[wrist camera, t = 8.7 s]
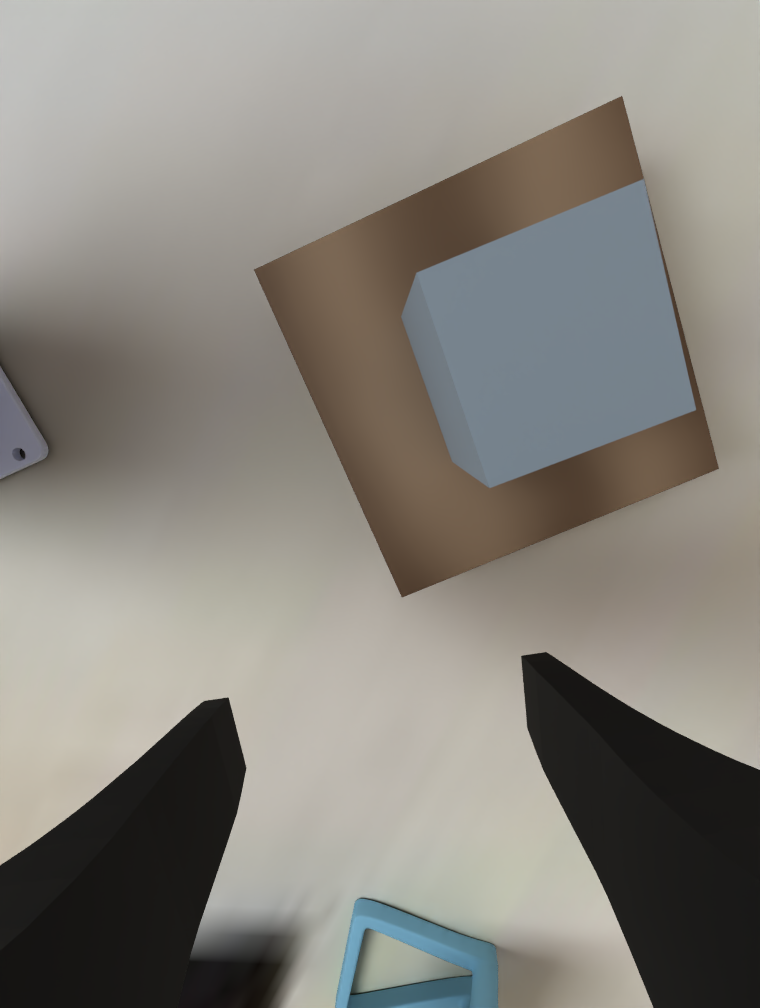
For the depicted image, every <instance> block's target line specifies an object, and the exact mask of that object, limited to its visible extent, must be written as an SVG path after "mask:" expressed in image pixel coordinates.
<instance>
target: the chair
mask: <svg viewBox="0 0 760 1008" xmlns="http://www.w3.org/2000/svg"><path fill="white" fill-rule="evenodd" d="M366 928H369V929H373V930H375V931H378V932H380V933H382V934H385V935H387V936H390V937H392V938H394V939H397V940H399V941H401V942H404V943H406V944H408V945H411V946H413V947H415V948H418V949H420V950H422V951H425V952H427V953H429V954H431V955H434V956H436V957H438V958H441V959H443V960H446V961H448V962H450V963H453V964H455V965H458V966H460V967H463V968H465V969H468V970H470V971H472V974H473V976H464V977H455V978H448V979H442V980H436V981H430V982H424V983H418V984H413V985H407V986H402V987H397V988H391V989H386V990H380V991H375V992H369V993H363V994H357V995H350V992H351V988H352V983H353V979H354V975H355V970H356V966H357V961H358V957H359V953H360V948H361V944H362V940H363V935H364V931H365V930H366ZM335 1008H498V962H497V954H496V948H495V946H494V945H493V944H491V943H487V942H484V941H480V940H477V939H474V938H470V937H467V936H464V935H461V934H459V933H456V932H453V931H451V930H448V929H445V928H443V927H440V926H438V925H435V924H433V923H430V922H428V921H425V920H423V919H420V918H417V917H415V916H412V915H410V914H407V913H405V912H402V911H400V910H397V909H395V908H392V907H389V906H387V905H384V904H381V903H378V902H375V901H372V900H367V899H358V900H357V901H356V902H355V905H354V910H353V915H352V920H351V925H350V930H349V935H348V940H347V945H346V950H345V955H344V960H343V965H342V970H341V975H340V980H339V985H338V990H337V995H336V1005H335Z"/></svg>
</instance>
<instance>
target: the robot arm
mask: <svg viewBox="0 0 760 1008" xmlns="http://www.w3.org/2000/svg"><path fill="white" fill-rule="evenodd" d="M20 449H23V451H24V452H25V454H26V456H25V459H23V458H22V457H21V456H20V453H19V452H20ZM47 455H48V446H47V443H46V442H45V440H44V438H43V437H42V435H41V433H40V432H39V430H38V428H37V427H36V425H35V423H34V422H33V420H32V418H31V417H30V415H29V413H28V412H27V410H26V408H25V407H24V405H23V403H22V402H21V400H20V398H19V397H18V395H17V393H16V392H15V390H14V388H13V387H12V385H11V383H10V382H9V380H8V378H7V377H6V375H5V373H4V372H3V370H2V368H1V367H0V479H2V478H4V477H6V476H8V475H11V474H13V473H15V472H17V471H19V470H21V469H24V468H26V467H28V466H30V465H32V464H35V463H37V462H39V461H41V460H43V459H44V458H46V457H47ZM521 658H522V670H523V682H524V693H525V705H526V717H527V728H528V731H529V734H530V736H531V739H532V742H533V744H534V747H535V750H536V752H537V755H538V758H539V760H540V763H541V765H542V768H543V770H544V772H545V774H546V776H547V778H548V780H549V782H550V784H551V786H552V788H553V790H554V792H555V794H556V796H557V798H558V800H559V802H560V804H561V806H562V807H563V809H564V811H565V813H566V815H567V817H568V819H569V821H570V823H571V825H572V827H573V829H574V831H575V833H576V834H577V836H578V838H579V840H580V842H581V844H582V846H583V848H584V850H585V852H586V854H587V856H588V858H589V859H590V861H591V863H592V865H593V867H594V869H595V871H596V873H597V875H598V877H599V879H600V882H601V884H602V886H603V888H604V890H605V892H606V894H607V896H608V899H609V901H610V903H611V906H612V908H613V910H614V913H615V915H616V918H617V920H618V922H619V925H620V927H621V930H622V932H623V934H624V937H625V939H626V941H627V944H628V946H629V949H630V951H631V953H632V956H633V958H634V961H635V963H636V966H637V968H638V971H639V973H640V975H641V978H642V980H643V983H644V985H645V988H646V990H647V993H648V995H649V998H650V1000H651V1003H652V1005H653V1008H760V770H759V769H756V768H754V767H751V766H749V765H746V764H744V763H741V762H739V761H736V760H734V759H732V758H730V757H727V756H725V755H723V754H721V753H718V752H716V751H714V750H712V749H710V748H708V747H705V746H703V745H701V744H699V743H697V742H695V741H693V740H691V739H689V738H687V737H685V736H683V735H681V734H679V733H677V732H675V731H673V730H671V729H669V728H667V727H665V726H663V725H661V724H660V723H658V722H656V721H654V720H652V719H651V718H649V717H647V716H645V715H644V714H642V713H640V712H638V711H637V710H635V709H633V708H631V707H630V706H628V705H626V704H625V703H623V702H621V701H620V700H618V699H617V698H615V697H613V696H612V695H610V694H609V693H607V692H605V691H604V690H602V689H601V688H599V687H598V686H596V685H595V684H593V683H592V682H590V681H589V680H587V679H586V678H584V677H583V676H581V675H580V674H578V673H577V672H575V671H574V670H572V669H571V668H569V667H568V666H566V665H565V664H563V663H562V662H561V661H559V660H558V659H556V658H555V657H553V656H552V655H550V654H548V653H547V652H544V653H537V654H530V655H523V656H521ZM245 772H246V765H245V761H244V757H243V753H242V749H241V745H240V741H239V737H238V733H237V729H236V725H235V721H234V717H233V713H232V709H231V706H230V702H229V698H222V699H215V700H208V701H204V702H202V703H201V704H200V705H199V706H197V707H196V708H195V709H194V710H193V711H191V712H190V713H189V714H188V715H187V716H186V717H185V718H183V719H182V720H181V721H180V722H179V723H178V724H177V725H176V726H175V727H174V728H172V729H171V730H170V731H169V732H168V733H167V734H166V735H165V736H164V737H163V738H161V739H160V740H159V741H158V742H157V743H156V744H155V745H154V746H153V747H152V748H150V749H149V750H148V751H147V752H146V753H145V754H144V755H143V756H142V757H140V758H139V759H138V760H137V761H136V762H135V763H134V764H133V765H131V766H130V767H129V768H128V769H127V770H126V771H124V772H123V773H122V774H121V775H120V776H118V777H117V778H116V779H115V780H114V781H112V782H111V783H110V784H109V785H108V786H107V787H105V788H104V789H103V790H102V791H101V792H99V793H98V794H97V795H96V796H95V797H94V798H92V799H91V800H90V801H89V802H87V803H86V804H85V805H84V806H82V807H81V808H80V809H79V810H77V811H76V812H75V813H73V814H72V815H71V816H70V817H68V818H67V819H66V820H64V821H63V822H62V823H60V824H59V825H57V826H56V827H55V828H53V829H52V830H51V831H49V832H48V833H47V834H45V835H44V836H43V837H41V838H40V839H38V840H37V841H36V842H34V843H33V844H31V845H30V846H29V847H27V848H26V849H24V850H23V851H21V852H20V853H18V854H17V855H15V856H14V857H12V858H11V859H9V860H8V861H6V862H5V863H3V864H2V865H0V1008H177V1006H178V1002H179V998H180V994H181V990H182V986H183V982H184V978H185V974H186V970H187V966H188V962H189V958H190V955H191V951H192V948H193V944H194V941H195V938H196V934H197V931H198V928H199V925H200V922H201V919H202V916H203V913H204V910H205V907H206V904H207V901H208V898H209V895H210V892H211V889H212V886H213V883H214V880H215V877H216V874H217V871H218V869H219V866H220V863H221V860H222V857H223V854H224V851H225V848H226V845H227V842H228V839H229V836H230V833H231V830H232V827H233V824H234V820H235V817H236V814H237V810H238V806H239V801H240V797H241V792H242V787H243V782H244V777H245Z"/></svg>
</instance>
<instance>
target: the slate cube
mask: <svg viewBox="0 0 760 1008" xmlns="http://www.w3.org/2000/svg"><path fill="white" fill-rule="evenodd" d="M401 318H402V321H403V324H404V327H405V329H406V332H407V335H408V338H409V341H410V344H411V346H412V349H413V352H414V355H415V358H416V361H417V364H418V366H419V369H420V372H421V375H422V378H423V381H424V383H425V386H426V389H427V392H428V395H429V398H430V400H431V403H432V406H433V409H434V412H435V415H436V417H437V420H438V423H439V426H440V429H441V432H442V434H443V437H444V440H445V443H446V446H447V449H448V451H449V454H450V457H451V460H452V462H453V463H455V464H456V465H457V466H459V467H460V468H462V469H463V470H465V471H466V472H467V473H469V474H470V475H472V476H473V477H474V478H476V479H477V480H479V481H480V482H481V483H483V484H484V485H486V486H487V487H489V488H491V487H494V486H497V485H499V484H502V483H505V482H507V481H510V480H513V479H515V478H518V477H520V476H523V475H526V474H528V473H531V472H534V471H536V470H539V469H542V468H544V467H547V466H550V465H552V464H555V463H557V462H560V461H563V460H565V459H568V458H571V457H573V456H576V455H579V454H581V453H584V452H586V451H589V450H592V449H594V448H597V447H600V446H602V445H605V444H608V443H610V442H613V441H616V440H618V439H621V438H623V437H626V436H629V435H631V434H634V433H637V432H639V431H642V430H645V429H647V428H650V427H652V426H655V425H658V424H660V423H663V422H666V421H668V420H671V419H674V418H676V417H679V416H682V415H684V414H687V413H689V412H692V411H695V410H696V407H695V403H694V398H693V394H692V389H691V385H690V380H689V376H688V372H687V367H686V363H685V358H684V354H683V350H682V345H681V341H680V336H679V332H678V327H677V323H676V319H675V314H674V310H673V305H672V301H671V296H670V292H669V288H668V283H667V279H666V274H665V270H664V265H663V261H662V257H661V252H660V248H659V243H658V239H657V235H656V230H655V226H654V221H653V217H652V212H651V208H650V204H649V199H648V195H647V190H646V186H645V181H644V179H642V180H640V181H638V182H635V183H633V184H630V185H628V186H625V187H623V188H621V189H618V190H616V191H613V192H611V193H609V194H606V195H604V196H601V197H599V198H596V199H594V200H592V201H589V202H587V203H584V204H582V205H579V206H577V207H575V208H572V209H570V210H567V211H565V212H562V213H560V214H558V215H555V216H553V217H550V218H548V219H545V220H543V221H541V222H538V223H536V224H533V225H531V226H529V227H526V228H524V229H521V230H519V231H516V232H514V233H512V234H509V235H507V236H504V237H502V238H499V239H497V240H495V241H492V242H490V243H487V244H485V245H482V246H480V247H478V248H475V249H473V250H470V251H468V252H465V253H463V254H461V255H458V256H456V257H453V258H451V259H449V260H446V261H444V262H441V263H439V264H436V265H434V266H432V267H429V268H427V269H424V270H422V271H419V272H417V273H416V276H415V278H414V281H413V284H412V287H411V290H410V293H409V296H408V298H407V301H406V304H405V307H404V310H403V313H402V315H401Z"/></svg>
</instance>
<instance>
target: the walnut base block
mask: <svg viewBox="0 0 760 1008" xmlns="http://www.w3.org/2000/svg"><path fill="white" fill-rule="evenodd" d="M642 179H644V178H643V174H642V170H641V167H640V163H639V159H638V155H637V151H636V147H635V143H634V140H633V136H632V132H631V128H630V124H629V120H628V116H627V113H626V109H625V105H624V101H623V97H622V96H621V97H619V98H617V99H615V100H613V101H610V102H608V103H606V104H604V105H602V106H600V107H598V108H596V109H593V110H591V111H589V112H587V113H585V114H583V115H581V116H579V117H577V118H574V119H572V120H570V121H568V122H566V123H564V124H562V125H560V126H557V127H555V128H553V129H551V130H549V131H547V132H545V133H543V134H541V135H538V136H536V137H534V138H532V139H530V140H528V141H526V142H524V143H521V144H519V145H517V146H515V147H513V148H511V149H509V150H507V151H505V152H502V153H500V154H498V155H496V156H494V157H492V158H490V159H488V160H485V161H483V162H481V163H479V164H477V165H475V166H473V167H471V168H469V169H466V170H464V171H462V172H460V173H458V174H456V175H454V176H452V177H449V178H447V179H445V180H443V181H441V182H439V183H437V184H435V185H433V186H430V187H428V188H426V189H424V190H422V191H420V192H418V193H416V194H413V195H411V196H409V197H407V198H405V199H403V200H401V201H399V202H397V203H394V204H392V205H390V206H388V207H386V208H384V209H382V210H380V211H377V212H375V213H373V214H371V215H369V216H367V217H365V218H363V219H361V220H358V221H356V222H354V223H352V224H350V225H348V226H346V227H344V228H341V229H339V230H337V231H335V232H333V233H331V234H329V235H327V236H325V237H322V238H320V239H318V240H316V241H314V242H312V243H310V244H308V245H305V246H303V247H301V248H299V249H297V250H295V251H293V252H291V253H289V254H286V255H284V256H282V257H280V258H278V259H276V260H274V261H272V262H269V263H267V264H265V265H263V266H261V267H259V268H257V269H255V270H254V271H255V273H256V275H257V277H258V280H259V282H260V284H261V286H262V289H263V291H264V293H265V295H266V297H267V300H268V302H269V304H270V306H271V308H272V311H273V313H274V315H275V317H276V320H277V322H278V324H279V326H280V328H281V331H282V333H283V335H284V337H285V339H286V342H287V344H288V346H289V348H290V351H291V353H292V355H293V357H294V359H295V362H296V364H297V366H298V368H299V370H300V373H301V375H302V377H303V379H304V382H305V384H306V386H307V388H308V390H309V393H310V395H311V397H312V399H313V401H314V404H315V406H316V408H317V410H318V413H319V415H320V417H321V419H322V421H323V424H324V426H325V428H326V430H327V432H328V435H329V437H330V439H331V441H332V443H333V446H334V448H335V450H336V452H337V455H338V457H339V459H340V461H341V463H342V466H343V468H344V470H345V472H346V474H347V477H348V479H349V481H350V483H351V486H352V488H353V490H354V492H355V494H356V497H357V499H358V501H359V503H360V505H361V508H362V510H363V512H364V514H365V517H366V519H367V521H368V523H369V525H370V528H371V530H372V532H373V534H374V536H375V539H376V541H377V543H378V545H379V548H380V550H381V552H382V554H383V556H384V559H385V561H386V563H387V565H388V567H389V570H390V572H391V574H392V576H393V578H394V581H395V583H396V585H397V587H398V590H399V592H400V594H401V596H402V597H404V596H407V595H409V594H412V593H414V592H417V591H419V590H421V589H424V588H426V587H429V586H431V585H434V584H436V583H439V582H441V581H444V580H446V579H449V578H451V577H453V576H456V575H458V574H461V573H463V572H466V571H468V570H471V569H473V568H476V567H478V566H481V565H483V564H485V563H488V562H490V561H493V560H495V559H498V558H500V557H503V556H505V555H508V554H510V553H513V552H515V551H517V550H520V549H522V548H525V547H527V546H530V545H532V544H535V543H537V542H540V541H542V540H545V539H547V538H549V537H552V536H554V535H557V534H559V533H562V532H564V531H567V530H569V529H572V528H574V527H577V526H579V525H581V524H584V523H586V522H589V521H591V520H594V519H596V518H599V517H601V516H604V515H606V514H609V513H611V512H613V511H616V510H618V509H621V508H623V507H626V506H628V505H631V504H633V503H636V502H638V501H640V500H643V499H645V498H648V497H650V496H653V495H655V494H658V493H660V492H663V491H665V490H668V489H670V488H672V487H675V486H677V485H680V484H682V483H685V482H687V481H690V480H692V479H695V478H697V477H700V476H702V475H704V474H707V473H709V472H712V471H714V470H717V469H719V467H718V464H717V460H716V456H715V452H714V448H713V444H712V440H711V437H710V433H709V429H708V425H707V421H706V417H705V413H704V410H703V406H702V402H701V398H700V394H699V390H698V386H697V383H696V379H695V375H694V371H693V367H692V363H691V359H690V356H689V352H688V348H687V344H686V340H685V336H684V332H683V329H682V325H681V321H680V317H679V313H678V309H677V305H676V302H675V298H674V294H673V290H672V286H671V282H670V278H669V275H668V271H667V267H666V263H665V259H664V255H663V251H662V248H661V244H660V240H659V236H658V232H657V228H656V224H655V221H654V217H653V213H652V217H653V221H654V226H655V230H656V235H657V239H658V243H659V248H660V252H661V257H662V261H663V265H664V270H665V274H666V279H667V283H668V288H669V292H670V296H671V301H672V305H673V310H674V314H675V319H676V323H677V327H678V332H679V336H680V341H681V345H682V350H683V354H684V358H685V363H686V367H687V372H688V376H689V380H690V385H691V389H692V394H693V398H694V403H695V407H696V410H695V411H692V412H689V413H687V414H684V415H682V416H679V417H676V418H674V419H671V420H668V421H666V422H663V423H660V424H658V425H655V426H652V427H650V428H647V429H645V430H642V431H639V432H637V433H634V434H631V435H629V436H626V437H623V438H621V439H618V440H616V441H613V442H610V443H608V444H605V445H602V446H600V447H597V448H594V449H592V450H589V451H586V452H584V453H581V454H579V455H576V456H573V457H571V458H568V459H565V460H563V461H560V462H557V463H555V464H552V465H550V466H547V467H544V468H542V469H539V470H536V471H534V472H531V473H528V474H526V475H523V476H520V477H518V478H515V479H513V480H510V481H507V482H505V483H502V484H499V485H497V486H494V487H491V488H489V487H487V486H486V485H484V484H483V483H481V482H480V481H479V480H477V479H476V478H474V477H473V476H472V475H470V474H469V473H467V472H466V471H465V470H463V469H462V468H460V467H459V466H457V465H456V464H455V463H453V462H452V460H451V457H450V454H449V451H448V449H447V446H446V443H445V440H444V437H443V434H442V432H441V429H440V426H439V423H438V420H437V417H436V415H435V412H434V409H433V406H432V403H431V400H430V398H429V395H428V392H427V389H426V386H425V383H424V381H423V378H422V375H421V372H420V369H419V366H418V364H417V361H416V358H415V355H414V352H413V349H412V346H411V344H410V341H409V338H408V335H407V332H406V329H405V327H404V324H403V321H402V318H401V315H402V313H403V310H404V307H405V304H406V301H407V298H408V296H409V293H410V290H411V287H412V284H413V281H414V278H415V276H416V273H417V272H419V271H422V270H424V269H427V268H429V267H432V266H434V265H436V264H439V263H441V262H444V261H446V260H449V259H451V258H453V257H456V256H458V255H461V254H463V253H465V252H468V251H470V250H473V249H475V248H478V247H480V246H482V245H485V244H487V243H490V242H492V241H495V240H497V239H499V238H502V237H504V236H507V235H509V234H512V233H514V232H516V231H519V230H521V229H524V228H526V227H529V226H531V225H533V224H536V223H538V222H541V221H543V220H545V219H548V218H550V217H553V216H555V215H558V214H560V213H562V212H565V211H567V210H570V209H572V208H575V207H577V206H579V205H582V204H584V203H587V202H589V201H592V200H594V199H596V198H599V197H601V196H604V195H606V194H609V193H611V192H613V191H616V190H618V189H621V188H623V187H625V186H628V185H630V184H633V183H635V182H638V181H640V180H642ZM647 195H648V194H647ZM648 199H649V197H648ZM649 204H650V201H649ZM650 208H651V205H650ZM651 212H652V209H651Z"/></svg>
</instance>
